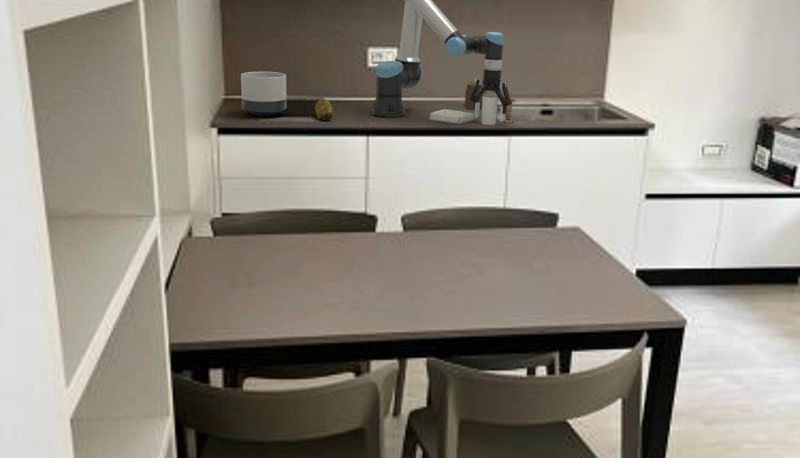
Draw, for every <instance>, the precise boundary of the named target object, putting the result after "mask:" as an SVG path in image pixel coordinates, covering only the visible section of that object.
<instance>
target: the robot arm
mask: <svg viewBox="0 0 800 458" xmlns="http://www.w3.org/2000/svg"><path fill="white" fill-rule="evenodd" d="M402 19H403V20H402V28H401V36H400V43H399V44H400V45H399V52H398V54H397V55H396V56H395V58H394V60H388V61H382V62H379V63H378V64H377V66H376V72H375V74H376V75H375V76H376V80H375V81H376V82H375V83H376V85H375V86H376V88H375V100H374V102H373V104H372V105H373V106H372V108H371V115H372V114H373V115H372V116H374V115H378V116H377V117H379V116H387V117H386V118H401V117H400V116H402V117H404V115H405V116H406V109H405V105H404V102H403V97H402V96H403V90H405V89H411V88H413V87H416V86H418V85H419V84H420V83H421V81H422V80H423V77H424V71H423V68H422V65H421V59H420V58H419V47H420V41H421V33H422V25H423V20H424V21H425V22H426V23H427V25H428V26H430V28H431V29H432V30H433V31H434V32H435V33H436V34H437V36H438V37H439V39H441V40H442V42H444V44H445V48H446V49H445V50H446V52H447V53H448V54H449V55H450V56H453V57H460V56H461V57H462V56H464V55H471V54H476V55H479V54H480V55H484V60H483V61H484V64H483V65H484V66H483V68H484V70H483V79H480V78H478V79H476V86H475V88H474V91H473V93H472V95H471V97H470V100H471V101H473V102H474V107H473V109H474V110H473V111H474V118H475V119H477V118H479V117H480V110H479V108H480V102H479V100H480V98H481V97H482V96H484V94H485V93H486V92H488V91H489V92H490V91H491V92H494V93H495V94H496V96H498V101H499V102H500V103H501V106H500V112H499V113H500V114H499V122H504V119H505V116H506V112H507V106H508V105H511V100H510V98H511V97H510V94H509V90H508V82H507V81H506V82H501V78H502V68H503V67H502V66H503V65H502V64H503V53H504V52H503V51H504V50H503V49H504V44H505V43H504V34H503V32H498V31H488V32H486V34H485V36H483V35H482V36H481V35H472V34H461V32H460V31H459V30H458V29H457V28H456V27H455V25H454V24H453V23H452V22H451V21H450V20H449V19H448V17H447V16H446V15H445V14H444V13H443V12H442V11H441V9H440V8H439V7H438V6H437V5H436V3H435V2H433V0H404V9H403V18H402ZM481 84H483V88H482V90H481V91H480V93H479V94H478V95H477V93H478V91H479V89H480V86H481ZM500 87H501V88H500ZM501 89H502V90H501ZM476 95H477V97H476Z"/></svg>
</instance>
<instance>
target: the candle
mask: <svg viewBox="0 0 800 458" xmlns="http://www.w3.org/2000/svg"><path fill="white" fill-rule="evenodd" d="M476 81H477V77H475V78H474V81H473V80H472V81H469V82H468V83H467V84H466V90H465V95H464V107H465V109H466V110H469V111H475V110H474V109H473V107H474V102H473V101H471V100H470V97H471V95H472V93H473V91H474V88H475V86H476ZM483 87H484V85H483V83H482V84H481V86H480V89H479V91H478V93H477V95H478V94H479V93H480V91H481V90H482V88H483ZM477 95H476V97H477ZM483 96H484V95H483ZM483 96H482V97H481V98H480V100H479V102H480V108H479V111H481V110H482V98H483ZM480 109H481V110H480Z"/></svg>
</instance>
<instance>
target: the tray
mask: <svg viewBox="0 0 800 458" xmlns="http://www.w3.org/2000/svg"><path fill="white" fill-rule="evenodd" d="M474 118H475V112H474V113H473V112H466V111H460V110H453V109H445V108H444V109H440V110H438V111H432V112H430V113H429V120H430V121H435V122H436V121H437V122H442V123H447V124H455V125H462V124H465V123H469V122H471V121H474V120H475V119H474Z"/></svg>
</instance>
